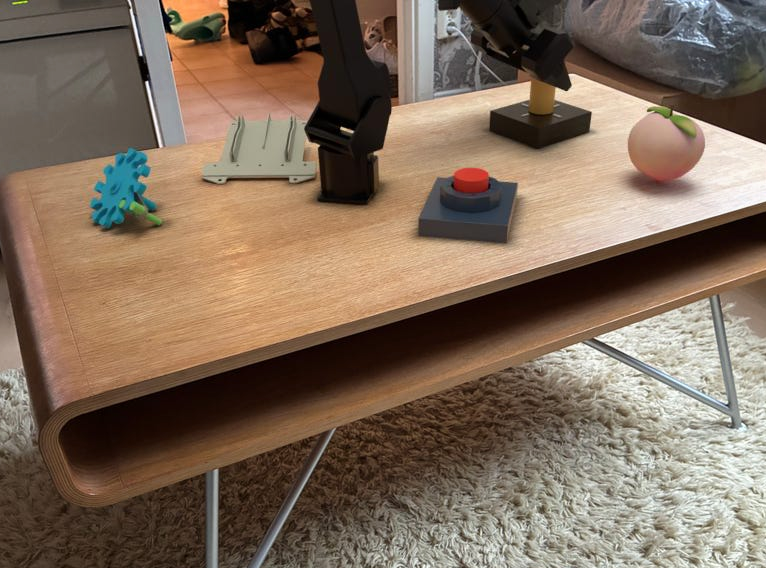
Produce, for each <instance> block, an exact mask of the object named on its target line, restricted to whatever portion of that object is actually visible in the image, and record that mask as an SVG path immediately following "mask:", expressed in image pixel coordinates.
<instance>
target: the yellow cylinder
mask: <svg viewBox="0 0 766 568" xmlns="http://www.w3.org/2000/svg"><path fill="white" fill-rule="evenodd" d="M529 88H530V89H529V99H528V100H529V112H531V113H534V114H539V115H545V114H550V113H552V112H553V110H554V100H556V99H555V98H556V89H557V87H554V86H551V85H549V84H546V83H544V82H541V81H539V80H537V79H535V78H532V77H530V87H529Z"/></svg>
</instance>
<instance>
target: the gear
mask: <svg viewBox="0 0 766 568" xmlns="http://www.w3.org/2000/svg"><path fill="white" fill-rule="evenodd" d="M114 161H115V163H114V166H113V165H111V164H107V165H106V166H105V167H104V168H103V170H102V174H104V175H105V182H103V181H102V180H97V182H96V183H95V185H94V187H93V191H95V192H97V193H98V194H101V196H100V198H99V199H98V198H96V197H93V198H91V201H90V204H89V208H90V209H93V210H94V211H93V212H92V215H91V219H92V222H94V223H96V224H99V225H101V226H102V227H105V228H107V229H110V227H111V226H112V224H113V223H114V224H115V225H120V224H122V223H123V222H124V220H125V212H126V213H129V214H132V213H133V217H134V218H136V219H138V220H140V221H142V220H145V219H146V220H147V221H149V222H151V223H154V224H155V225H158V226H160V225H162V223H163V220H162V219H161V218H159V217H157V216H155V215H153V213H150V212H149V211H155V209H156V208H157V203H156V202H154V201H152V200H150V199H149V198H147V197H145V196H143V195H144V193H145V192H146V190H147V188H148V185H147V184H145V183H143V182H142V181H139V179H140V177H141V176H142V177H144V178H148V177H149V175H150V173H151V167H150V166H149V165H147V162H148V161H149V160H148V155H147V154H146V153H145V152H143V151H141V150H139V151H137V150H136V149H134V148H132V147H130V148H129V149H128V150H127V153H126V154H125V153H124V152H119V153H117V154H116V155H115V159H114Z"/></svg>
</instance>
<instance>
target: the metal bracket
mask: <svg viewBox="0 0 766 568" xmlns="http://www.w3.org/2000/svg"><path fill="white" fill-rule="evenodd" d="M236 116H237V117H236V120H231V121H230V122H229V126H228V128H227V129H228V130H227V133H226V138H225V141H224V146H223V149H222V154H221V157H220V161H219V162H218V161H216V162H215V161H211V162H209V161H208V162H204V164H203V168H202V171H201V179H203V180H206V181H208V182H211V183H214V184H217V185H224V184H226V183H227V180H228V179H261V178H263V179H265V178H266V179H268V178H269V179H271V178H272V179H273V178H276V179H277V178H278V179H280V178H283V179H284V178H288V180H289V183H290V184H299V183H302V182H304V181H309V180H311V179H314V178H316V174H317V167H318V163H317V161H315V160H314V161H312V160H311V161H304V154H305V149H306V141H307V135H306V133H305V130H304V127H305V125H306V123H307V122H308V120H307V119H297V117H296V114H293V115H292V114H289V119H281V120H278V119H277V120H274V119H273V120H272V118H271V112H269V111H268V112H267V116H266V119H265V120H245V117H244V115H236Z"/></svg>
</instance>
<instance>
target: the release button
mask: <svg viewBox="0 0 766 568" xmlns="http://www.w3.org/2000/svg"><path fill="white" fill-rule="evenodd" d="M453 175H454V190H455V191H458V192H461V193H472V194H475V193H481V192H485V191H487V190H488V183H489V177H490V173H489V172H488V171H487V170H485V169H483V168H478V167H463V168H459V169H457V170H455V171H454V172H453Z"/></svg>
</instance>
